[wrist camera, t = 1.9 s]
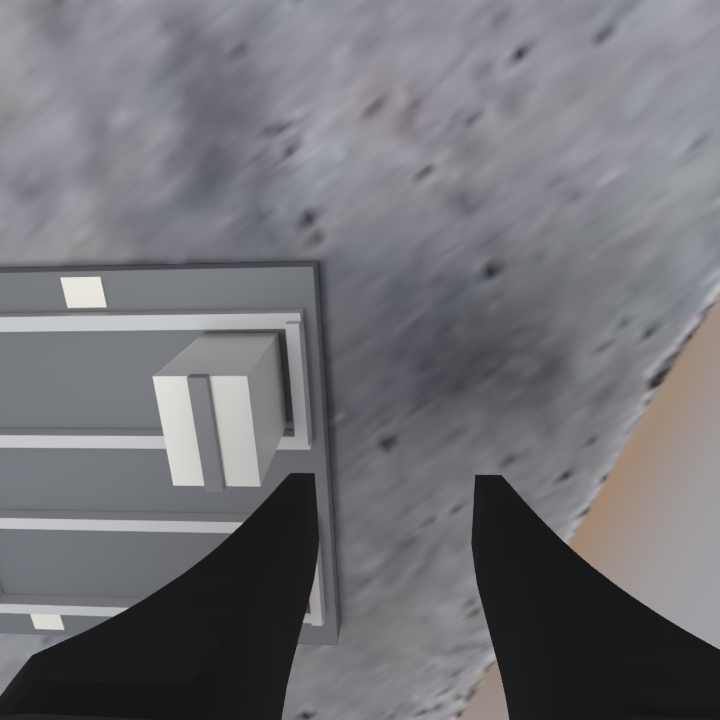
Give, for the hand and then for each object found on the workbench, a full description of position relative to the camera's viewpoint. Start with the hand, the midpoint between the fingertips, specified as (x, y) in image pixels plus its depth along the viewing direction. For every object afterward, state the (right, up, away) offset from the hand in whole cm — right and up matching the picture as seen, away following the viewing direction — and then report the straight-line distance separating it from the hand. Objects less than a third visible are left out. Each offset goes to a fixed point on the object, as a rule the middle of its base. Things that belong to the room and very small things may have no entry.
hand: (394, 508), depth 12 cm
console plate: (-13, -1, +12) cm, 18 cm away
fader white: (-5, +3, +8) cm, 10 cm away
